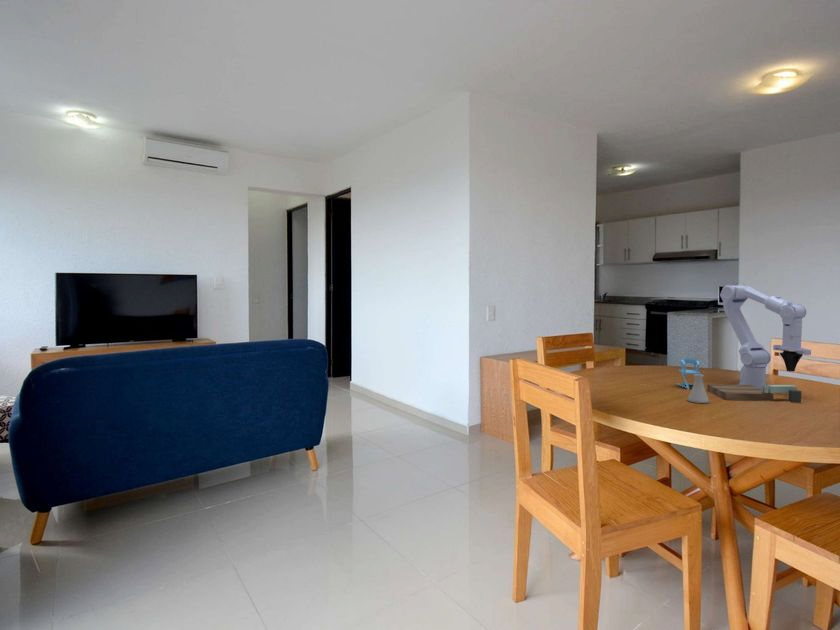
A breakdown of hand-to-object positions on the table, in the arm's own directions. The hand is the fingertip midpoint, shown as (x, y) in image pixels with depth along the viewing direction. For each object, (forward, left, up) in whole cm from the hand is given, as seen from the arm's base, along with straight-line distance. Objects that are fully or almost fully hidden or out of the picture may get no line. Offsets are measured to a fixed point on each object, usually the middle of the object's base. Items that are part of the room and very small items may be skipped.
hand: (790, 371), depth 184 cm
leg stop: (+11, -5, -9) cm, 15 cm away
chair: (-11, -32, -10) cm, 35 cm away
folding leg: (+8, -8, -7) cm, 13 cm away
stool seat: (+2, -19, -9) cm, 21 cm away
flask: (+13, -38, -10) cm, 41 cm away
